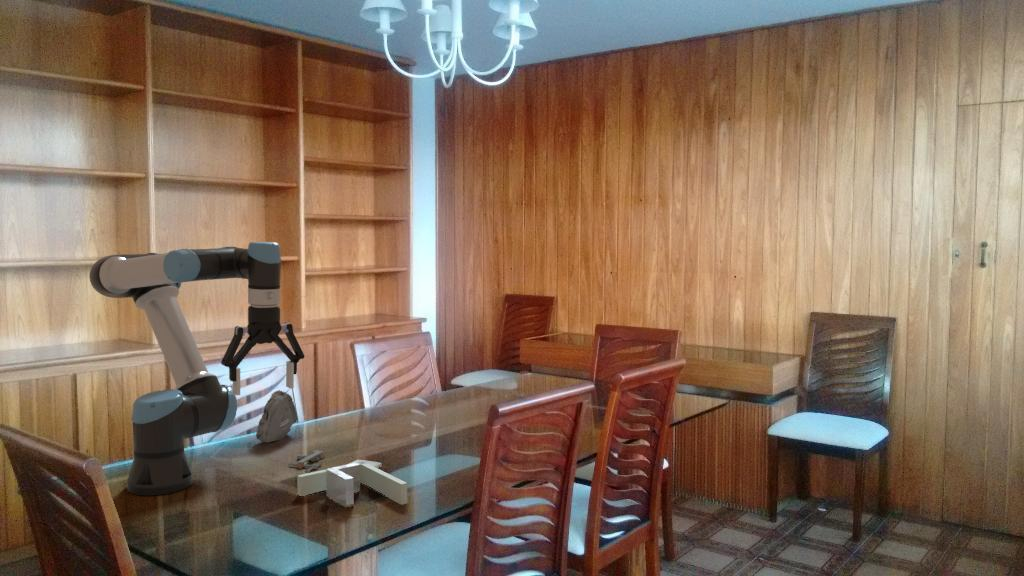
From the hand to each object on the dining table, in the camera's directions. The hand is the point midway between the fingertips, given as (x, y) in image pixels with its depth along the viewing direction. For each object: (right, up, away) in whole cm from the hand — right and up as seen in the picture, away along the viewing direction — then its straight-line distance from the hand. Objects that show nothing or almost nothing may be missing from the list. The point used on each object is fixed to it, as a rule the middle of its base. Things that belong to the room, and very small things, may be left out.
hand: (263, 390), depth 198 cm
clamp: (+5, -24, +23) cm, 33 cm away
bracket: (+23, -25, -5) cm, 34 cm away
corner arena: (+22, -25, -5) cm, 34 cm away
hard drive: (+20, -24, +17) cm, 35 cm away
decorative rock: (-10, -21, +46) cm, 52 cm away
